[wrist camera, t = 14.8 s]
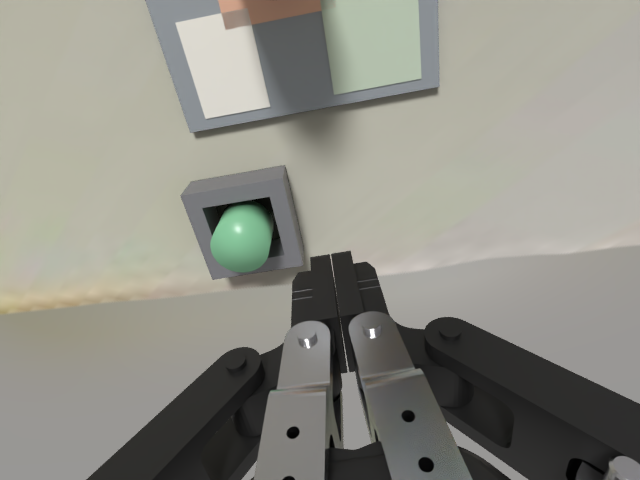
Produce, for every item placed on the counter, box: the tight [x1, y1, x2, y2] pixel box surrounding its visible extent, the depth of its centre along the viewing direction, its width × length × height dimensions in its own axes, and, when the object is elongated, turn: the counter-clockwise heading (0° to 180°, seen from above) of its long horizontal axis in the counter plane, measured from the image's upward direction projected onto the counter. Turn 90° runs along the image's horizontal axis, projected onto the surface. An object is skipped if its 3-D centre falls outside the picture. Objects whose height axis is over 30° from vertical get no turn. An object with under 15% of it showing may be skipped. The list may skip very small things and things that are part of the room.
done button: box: [210, 200, 274, 272], centre depth 31 cm, size 4×4×4 cm
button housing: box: [181, 165, 304, 280], centre depth 32 cm, size 8×8×3 cm
